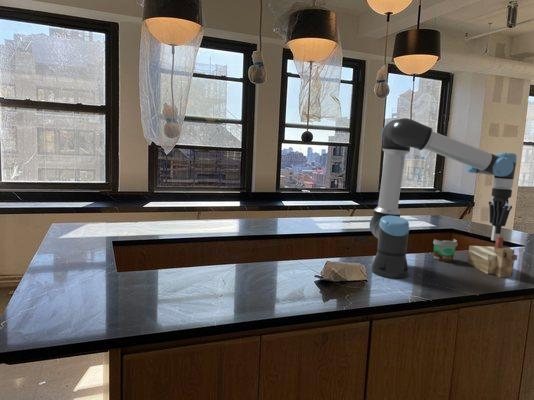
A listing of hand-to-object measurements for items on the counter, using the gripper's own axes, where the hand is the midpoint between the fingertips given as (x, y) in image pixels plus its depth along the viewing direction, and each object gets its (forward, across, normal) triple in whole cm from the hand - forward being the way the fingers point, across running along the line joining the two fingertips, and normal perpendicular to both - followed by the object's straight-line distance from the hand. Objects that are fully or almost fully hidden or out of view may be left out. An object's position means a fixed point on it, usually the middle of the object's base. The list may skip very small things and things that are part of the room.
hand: (494, 240), depth 174 cm
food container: (+14, +12, +15) cm, 24 cm away
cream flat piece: (+9, +2, 0) cm, 9 cm away
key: (+5, -8, 0) cm, 9 cm away
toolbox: (+14, 0, 0) cm, 14 cm away
